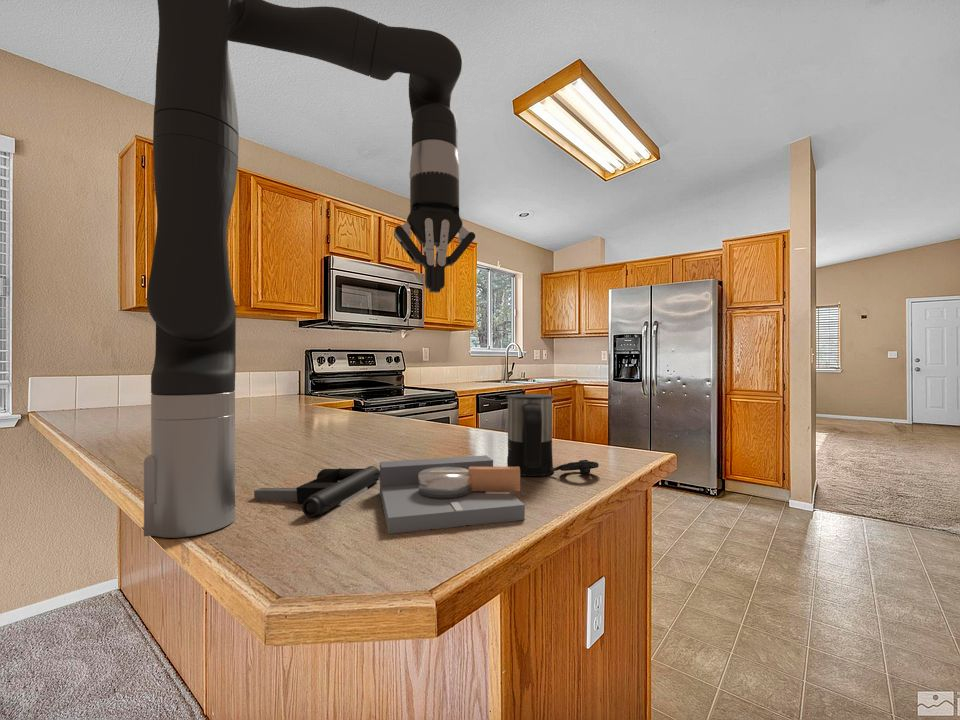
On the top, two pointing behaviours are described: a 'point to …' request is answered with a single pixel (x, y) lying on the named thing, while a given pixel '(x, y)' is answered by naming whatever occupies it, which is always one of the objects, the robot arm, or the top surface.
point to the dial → (467, 480)
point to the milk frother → (534, 436)
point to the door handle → (324, 489)
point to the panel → (426, 513)
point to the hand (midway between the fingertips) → (434, 291)
